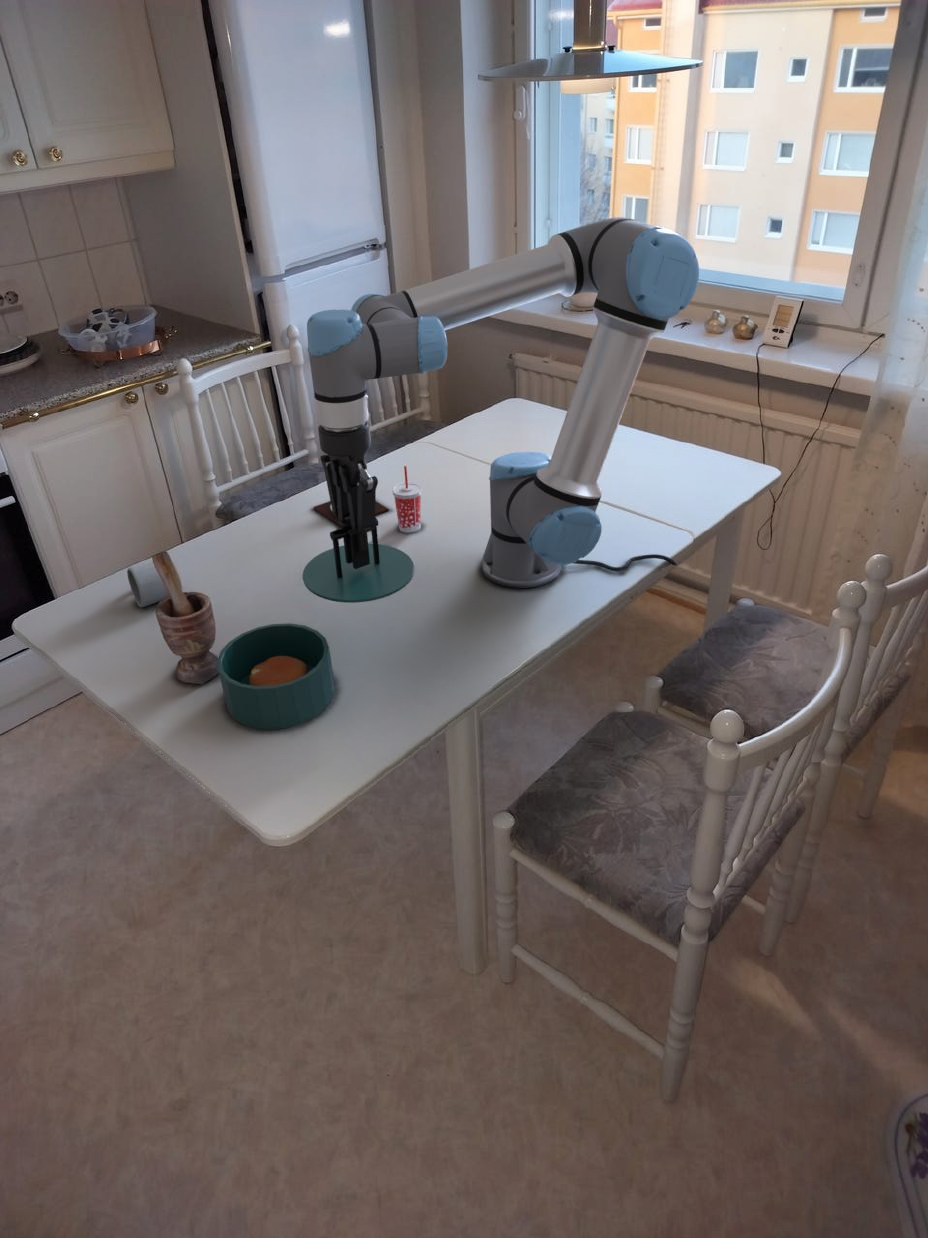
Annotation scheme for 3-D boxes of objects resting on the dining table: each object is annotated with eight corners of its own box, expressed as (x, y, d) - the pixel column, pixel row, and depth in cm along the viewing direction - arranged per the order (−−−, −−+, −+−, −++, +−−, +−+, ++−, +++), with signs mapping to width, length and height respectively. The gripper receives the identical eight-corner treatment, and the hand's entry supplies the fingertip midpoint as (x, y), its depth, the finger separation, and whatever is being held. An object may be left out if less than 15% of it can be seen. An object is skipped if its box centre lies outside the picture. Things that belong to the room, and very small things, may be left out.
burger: (316, 702, 136) (312, 679, 133) (256, 716, 134) (251, 693, 131) (305, 667, 144) (301, 644, 141) (248, 680, 142) (243, 657, 139)
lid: (436, 580, 139) (434, 528, 134) (338, 619, 130) (332, 565, 125) (376, 538, 151) (372, 489, 146) (283, 571, 142) (275, 520, 137)
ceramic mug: (187, 599, 163) (178, 563, 159) (145, 614, 160) (134, 578, 155) (168, 577, 171) (158, 543, 166) (126, 591, 167) (116, 556, 163)
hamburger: (342, 527, 185) (339, 504, 182) (313, 508, 193) (310, 486, 190) (388, 510, 191) (386, 488, 188) (359, 492, 199) (357, 470, 196)
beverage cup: (415, 517, 188) (410, 457, 180) (429, 528, 184) (425, 467, 176) (390, 526, 185) (384, 465, 177) (404, 537, 181) (399, 475, 173)
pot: (354, 699, 137) (348, 658, 133) (256, 745, 129) (247, 704, 125) (302, 650, 149) (296, 611, 144) (209, 690, 140) (199, 650, 136)
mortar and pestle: (150, 669, 146) (120, 566, 134) (190, 643, 151) (164, 543, 140) (196, 692, 140) (168, 587, 129) (236, 665, 146) (213, 562, 135)
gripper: (392, 431, 123) (402, 573, 136) (340, 403, 133) (354, 538, 146) (346, 444, 119) (361, 589, 133) (296, 414, 129) (315, 552, 142)
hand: (358, 562), depth 139 cm, fingers closed on lid, 1 cm apart
